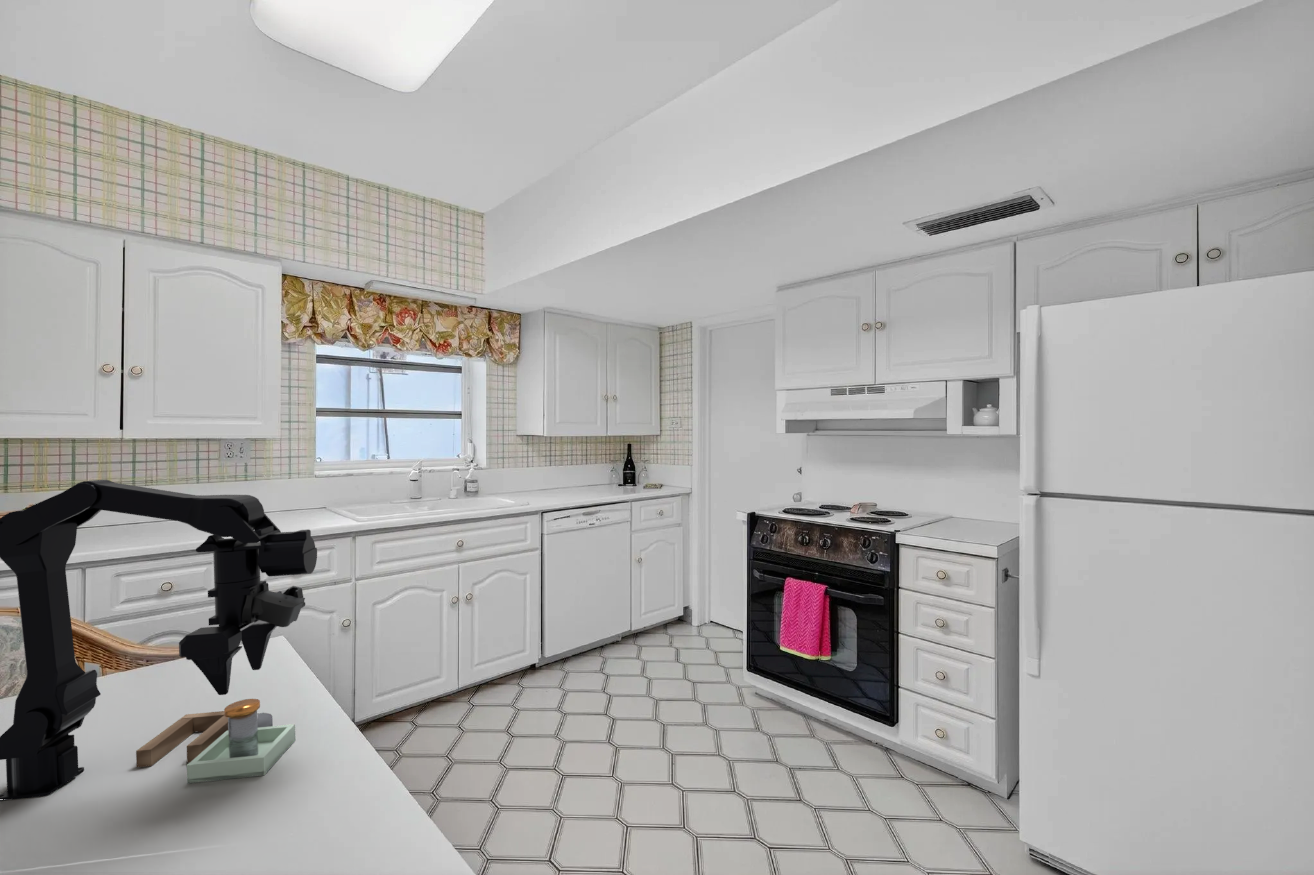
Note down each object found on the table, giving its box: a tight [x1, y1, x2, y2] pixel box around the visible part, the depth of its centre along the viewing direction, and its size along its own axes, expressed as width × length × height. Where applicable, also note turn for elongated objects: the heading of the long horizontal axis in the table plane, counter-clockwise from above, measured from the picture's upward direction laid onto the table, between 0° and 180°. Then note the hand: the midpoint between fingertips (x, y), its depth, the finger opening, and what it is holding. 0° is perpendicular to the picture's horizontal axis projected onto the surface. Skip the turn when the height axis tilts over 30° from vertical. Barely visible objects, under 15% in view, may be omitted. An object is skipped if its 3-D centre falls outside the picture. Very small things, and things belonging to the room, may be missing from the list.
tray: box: [186, 723, 297, 784], centre depth 89 cm, size 10×10×3 cm
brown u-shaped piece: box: [135, 710, 228, 768], centre depth 95 cm, size 9×12×2 cm
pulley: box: [257, 712, 274, 728], centre depth 97 cm, size 6×6×3 cm
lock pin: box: [223, 698, 261, 758], centre depth 89 cm, size 4×4×8 cm
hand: (240, 681), depth 90 cm, fingers open, 9 cm apart
